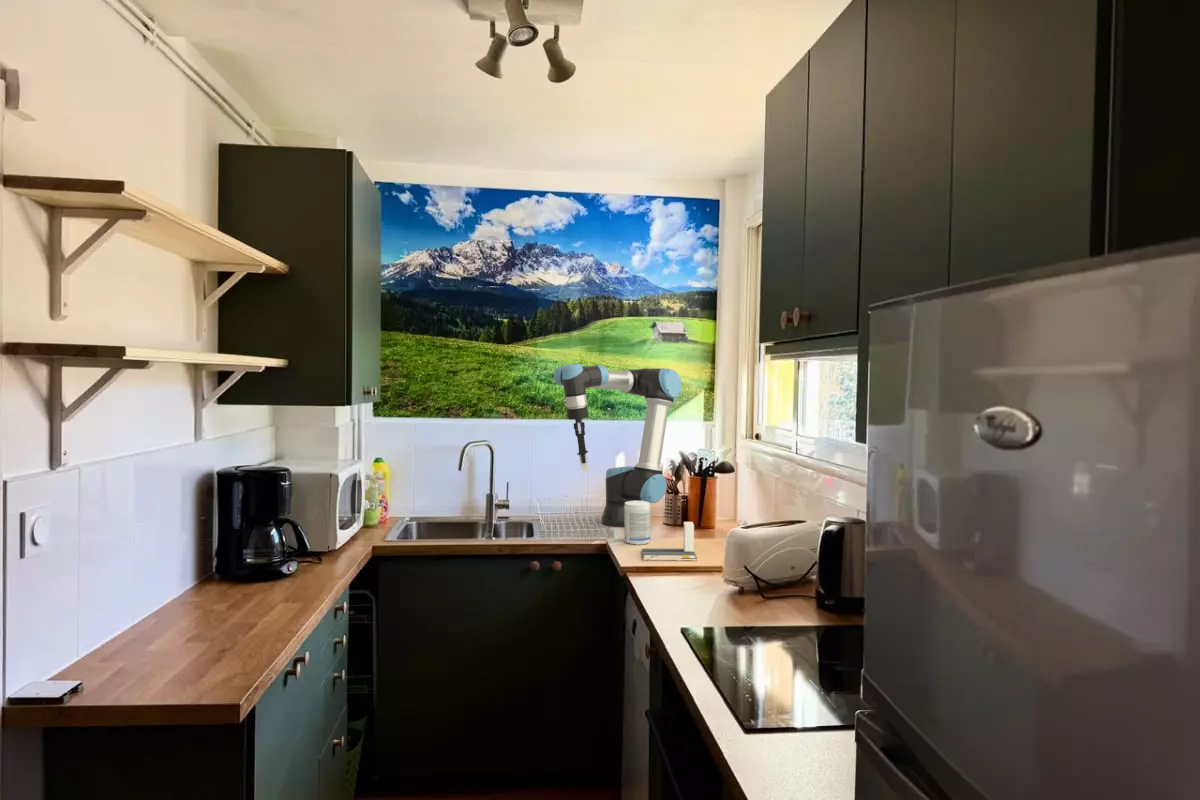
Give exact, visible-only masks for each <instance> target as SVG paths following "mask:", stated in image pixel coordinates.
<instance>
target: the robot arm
mask: <svg viewBox="0 0 1200 800" xmlns="http://www.w3.org/2000/svg"><path fill="white" fill-rule="evenodd" d="M553 381H554V382H555V383H556V385H558V386H562V387H563V392H564V397H565V399H563V402H564V403H565V407H566V408H567V409H566V416H567V419H568V420H574V421H575V422H574V423H573V424H572V425H573V429H574V434H575V436H576V439H577V447H578V453H577V455H576V456H578V457H579V463H580V464H579V465H580V473H586V472H587V473H588V472H590V470H589V469H590V468H589V461H588V454H587V453H589V451H588V450H587V448H586V441H585V435H586V431H585V428H586V427H585V422H584V421H583V422H582V420H583V419H585V418H588V417H589V410H588V409H589V408H588V406H587V405H588V401H587V400H588V399H587V394H586V389H589V388H592V389H593V388H594V389H602V390H604V389H605V390H616V391H619V392H620V393H623V394H631V395H634V396H640V397H644V401H645V402H646V404H647V406H646V412H645V418H644V424H643V431H642V438H641V443H640V444H641V445H640V451H639V457H638V463H636V464H635V465H634V466H618V467H611V468H608V469H607V470H606V473H605V506H604V509H603V512H602V515H601V524H603V525H604V526H608V527H623V528H625V524H624V506H625V502H628V501H647V502H649V503H650V504H655V503H658V502H660V500H662V499H663V497H664V496H665V494H666V492H667V488H668V484H667V483H668V482H667V479H666V477H665V476H664V474H663V472H664V471H663V469H662V466H661V459H662V455H663V448H664V440H665V435H666V428H667V422H668V421H667V420H668V414H669V407H671V406H672V405H674V400H675V399H676V398H678V397H679V396H680V394H682V388H683V387H682V380H681V377H680V375H679V373H678V372H677V371H676V370H674V369H670V368H664V367H663V368H648V367H647V368H645V367H644V368H634V369H621V370H611V369H607V368H606V366H604V365H603V364H600V365H599V364H598V365H597V364H596V365H595V364H594V365H591V366H590V365H589V366H587V365H586V366H585V365H583V364H582V363H571V364H566V365H562V366H558V367H557V368H556V369H555V370H554V373H553Z"/></svg>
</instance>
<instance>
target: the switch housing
mask: <svg viewBox="0 0 1200 800" xmlns="http://www.w3.org/2000/svg"><path fill="white" fill-rule="evenodd" d="M642 555H643V557H642V559H643V558H653V557H669V558H681V559H697V560H698V558H697V555H696V553H695V550H694V551H693V552H684V548H650V547H649V548H645V547H644V548H642V549H641V556H642Z"/></svg>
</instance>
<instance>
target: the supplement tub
mask: <svg viewBox="0 0 1200 800" xmlns="http://www.w3.org/2000/svg"><path fill="white" fill-rule="evenodd" d="M624 524H625V526H624V542H625V543H626V542H627V543H626V544H628V543H630V544H629V545H634V544H635V546H640V545H646V544H649V543H650V542H651V537H652V536H651V503H649V502H647V501H635V500H634V501H628V502H625V506H624Z"/></svg>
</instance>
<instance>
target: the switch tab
mask: <svg viewBox="0 0 1200 800" xmlns="http://www.w3.org/2000/svg"><path fill="white" fill-rule="evenodd" d="M683 549H684V552H693V551H694V552H695V524H694V522H693V521H683Z"/></svg>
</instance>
